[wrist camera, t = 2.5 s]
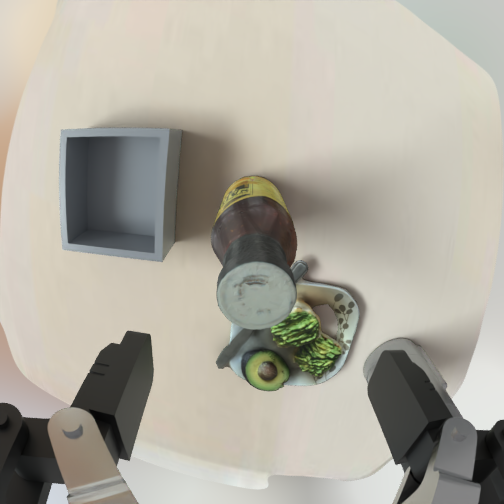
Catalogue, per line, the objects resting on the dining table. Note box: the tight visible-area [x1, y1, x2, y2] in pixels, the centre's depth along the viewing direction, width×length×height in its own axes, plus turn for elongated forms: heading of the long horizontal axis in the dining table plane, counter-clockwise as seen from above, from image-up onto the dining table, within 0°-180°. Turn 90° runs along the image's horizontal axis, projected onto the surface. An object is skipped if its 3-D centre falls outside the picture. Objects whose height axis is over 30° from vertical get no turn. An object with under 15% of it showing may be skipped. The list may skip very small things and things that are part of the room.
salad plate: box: [216, 260, 360, 391], centre depth 37 cm, size 19×18×5 cm
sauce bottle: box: [211, 176, 297, 330], centre depth 24 cm, size 7×6×20 cm
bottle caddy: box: [59, 128, 182, 262], centre depth 30 cm, size 12×13×6 cm
